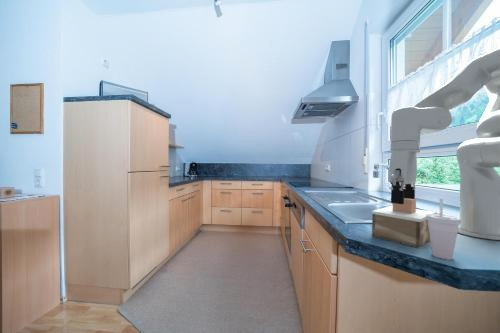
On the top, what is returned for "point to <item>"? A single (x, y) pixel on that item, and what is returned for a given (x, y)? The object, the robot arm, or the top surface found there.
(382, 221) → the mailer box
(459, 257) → the top surface
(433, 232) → the smoothie
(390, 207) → the lid
